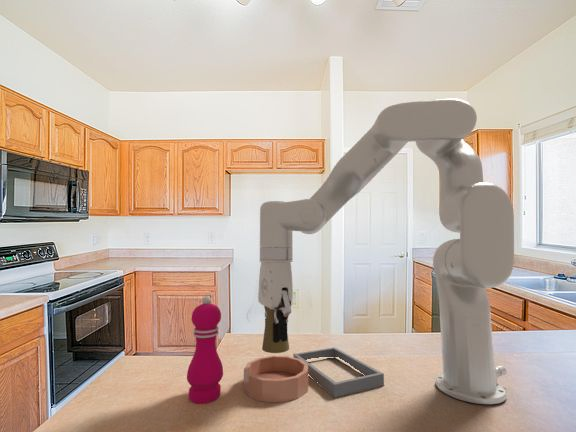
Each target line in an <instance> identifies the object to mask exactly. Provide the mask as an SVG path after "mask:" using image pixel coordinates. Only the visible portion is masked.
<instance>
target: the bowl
mask: <svg viewBox="0 0 576 432" xmlns="http://www.w3.org/2000/svg"><path fill="white" fill-rule="evenodd" d="M243 390H244V392H245V393H246V395H247V396H248V397H250V398H252V399H254V400H257V401H260V402H262V403H263V402H264V403H285V402H288V401H289V402H290V401H293V400H297V399H299V398H301V397H302V396H304V395H305V394H306V393H308V391H309V376H308V364H307V363H305V362H304V361H303V360H301V359H298V358H294V356H289V355H269V356H262V357H258V358H255V359H253V360H250V361H249V362H246V365H245V366H244V369H243Z"/></svg>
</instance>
